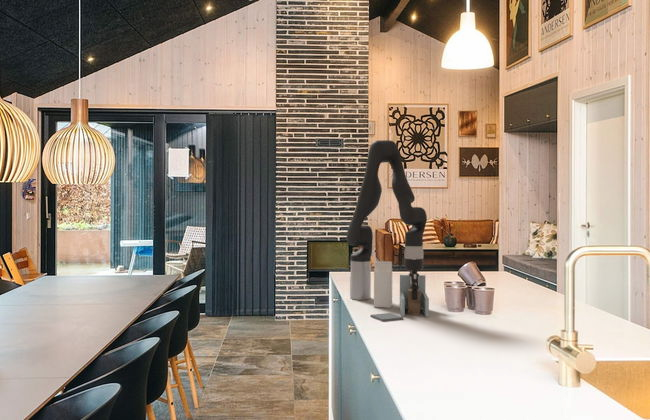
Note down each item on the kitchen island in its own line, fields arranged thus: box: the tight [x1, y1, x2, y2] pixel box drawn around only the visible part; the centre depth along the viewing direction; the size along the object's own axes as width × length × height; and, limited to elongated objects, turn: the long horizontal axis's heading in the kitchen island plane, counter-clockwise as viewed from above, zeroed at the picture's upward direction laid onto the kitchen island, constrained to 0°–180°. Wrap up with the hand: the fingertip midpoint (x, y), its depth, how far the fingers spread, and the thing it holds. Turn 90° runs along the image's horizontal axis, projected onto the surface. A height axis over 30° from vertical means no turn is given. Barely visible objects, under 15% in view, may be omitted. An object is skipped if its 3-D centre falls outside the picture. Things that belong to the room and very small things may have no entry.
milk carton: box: [373, 260, 393, 309], centre depth 240 cm, size 7×7×19 cm
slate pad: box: [370, 312, 404, 322], centre depth 216 cm, size 9×9×1 cm
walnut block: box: [407, 289, 421, 315], centre depth 226 cm, size 4×4×9 cm
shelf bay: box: [399, 274, 430, 318], centre depth 227 cm, size 16×10×14 cm, turn 175°
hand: (413, 297), depth 226 cm, fingers open, 8 cm apart
